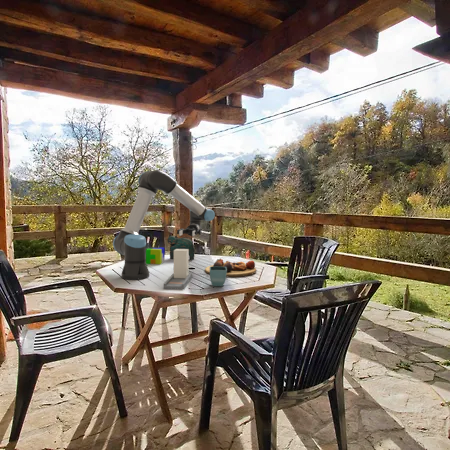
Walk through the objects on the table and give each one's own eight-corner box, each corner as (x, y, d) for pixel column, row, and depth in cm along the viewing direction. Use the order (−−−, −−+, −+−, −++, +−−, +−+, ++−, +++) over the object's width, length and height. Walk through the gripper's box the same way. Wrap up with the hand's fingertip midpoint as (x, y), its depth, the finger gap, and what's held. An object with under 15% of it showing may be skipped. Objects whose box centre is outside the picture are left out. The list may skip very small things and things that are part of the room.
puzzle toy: (164, 261, 224) (164, 247, 223) (160, 264, 214) (160, 249, 213) (150, 261, 225) (150, 247, 224) (145, 263, 215) (145, 249, 214)
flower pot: (226, 283, 169) (226, 266, 169) (226, 287, 161) (226, 270, 160) (209, 282, 169) (209, 266, 168) (209, 287, 160) (209, 270, 160)
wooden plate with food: (260, 268, 208) (261, 256, 207) (249, 279, 177) (249, 265, 177) (214, 265, 217) (214, 253, 217) (196, 275, 187) (196, 261, 187)
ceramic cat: (167, 259, 233) (167, 232, 231) (169, 257, 239) (169, 231, 237) (193, 260, 230) (193, 232, 229) (195, 258, 237) (195, 232, 235)
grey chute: (163, 288, 157) (163, 283, 156) (174, 276, 180) (174, 272, 180) (183, 289, 156) (184, 284, 156) (192, 277, 180) (192, 272, 180)
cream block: (173, 278, 171) (173, 250, 170) (176, 275, 177) (176, 248, 176) (186, 278, 171) (186, 250, 170) (188, 275, 177) (188, 249, 176)
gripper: (207, 235, 210) (203, 240, 187) (177, 235, 211) (169, 239, 188) (208, 224, 209) (203, 227, 186) (177, 223, 210) (169, 226, 187)
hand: (186, 233), depth 187 cm, fingers open, 7 cm apart
